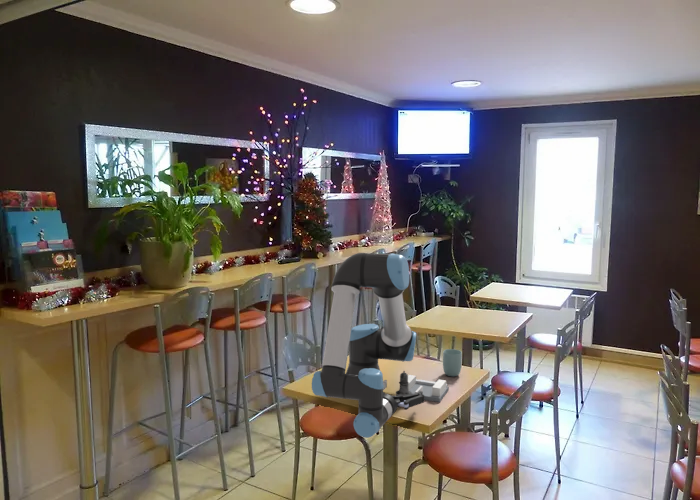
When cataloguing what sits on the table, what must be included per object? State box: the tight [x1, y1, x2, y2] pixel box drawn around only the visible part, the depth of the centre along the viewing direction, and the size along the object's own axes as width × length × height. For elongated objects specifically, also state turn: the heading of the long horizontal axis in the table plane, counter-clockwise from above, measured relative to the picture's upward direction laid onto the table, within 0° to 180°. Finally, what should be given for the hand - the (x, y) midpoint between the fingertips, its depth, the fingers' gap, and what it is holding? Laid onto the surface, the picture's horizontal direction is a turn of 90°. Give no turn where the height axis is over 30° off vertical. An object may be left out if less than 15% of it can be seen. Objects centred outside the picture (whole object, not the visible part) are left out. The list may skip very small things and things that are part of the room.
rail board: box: [408, 374, 450, 403], centre depth 201 cm, size 16×13×4 cm
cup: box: [442, 348, 463, 377], centre depth 220 cm, size 8×8×10 cm
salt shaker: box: [395, 370, 412, 399], centre depth 191 cm, size 6×6×12 cm
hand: (403, 386), depth 190 cm, fingers open, 13 cm apart
